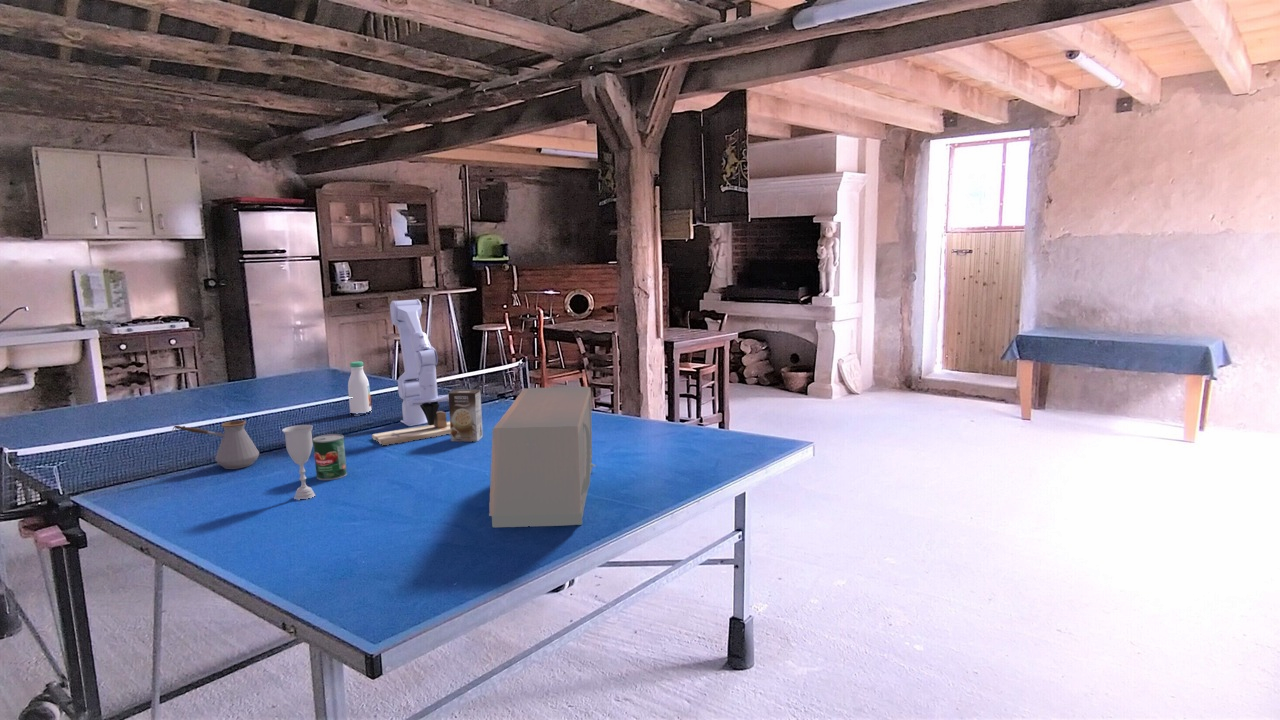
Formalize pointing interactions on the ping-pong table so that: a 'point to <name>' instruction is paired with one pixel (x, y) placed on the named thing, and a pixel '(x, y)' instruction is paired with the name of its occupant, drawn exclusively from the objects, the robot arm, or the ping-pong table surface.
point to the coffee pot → (232, 445)
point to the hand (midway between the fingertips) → (430, 424)
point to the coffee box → (465, 415)
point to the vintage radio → (542, 459)
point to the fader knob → (440, 419)
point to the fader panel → (411, 434)
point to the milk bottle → (358, 389)
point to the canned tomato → (329, 457)
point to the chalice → (300, 454)
